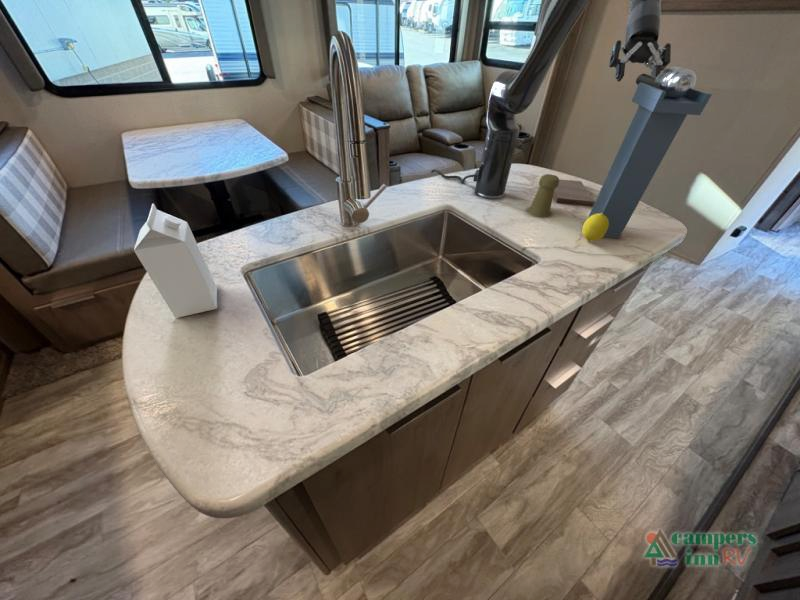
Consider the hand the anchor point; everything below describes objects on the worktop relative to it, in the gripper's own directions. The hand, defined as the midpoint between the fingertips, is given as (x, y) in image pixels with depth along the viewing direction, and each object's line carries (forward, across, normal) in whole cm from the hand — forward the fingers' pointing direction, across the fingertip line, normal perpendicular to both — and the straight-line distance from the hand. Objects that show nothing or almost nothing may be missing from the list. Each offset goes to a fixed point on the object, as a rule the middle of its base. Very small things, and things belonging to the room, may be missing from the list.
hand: (637, 80), depth 87 cm
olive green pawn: (+35, -18, +12) cm, 41 cm away
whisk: (+15, -2, -13) cm, 20 cm away
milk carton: (+79, -90, -28) cm, 123 cm away
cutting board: (+22, -6, +23) cm, 33 cm away
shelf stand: (+41, -2, +6) cm, 41 cm away
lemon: (+46, -7, +2) cm, 47 cm away
